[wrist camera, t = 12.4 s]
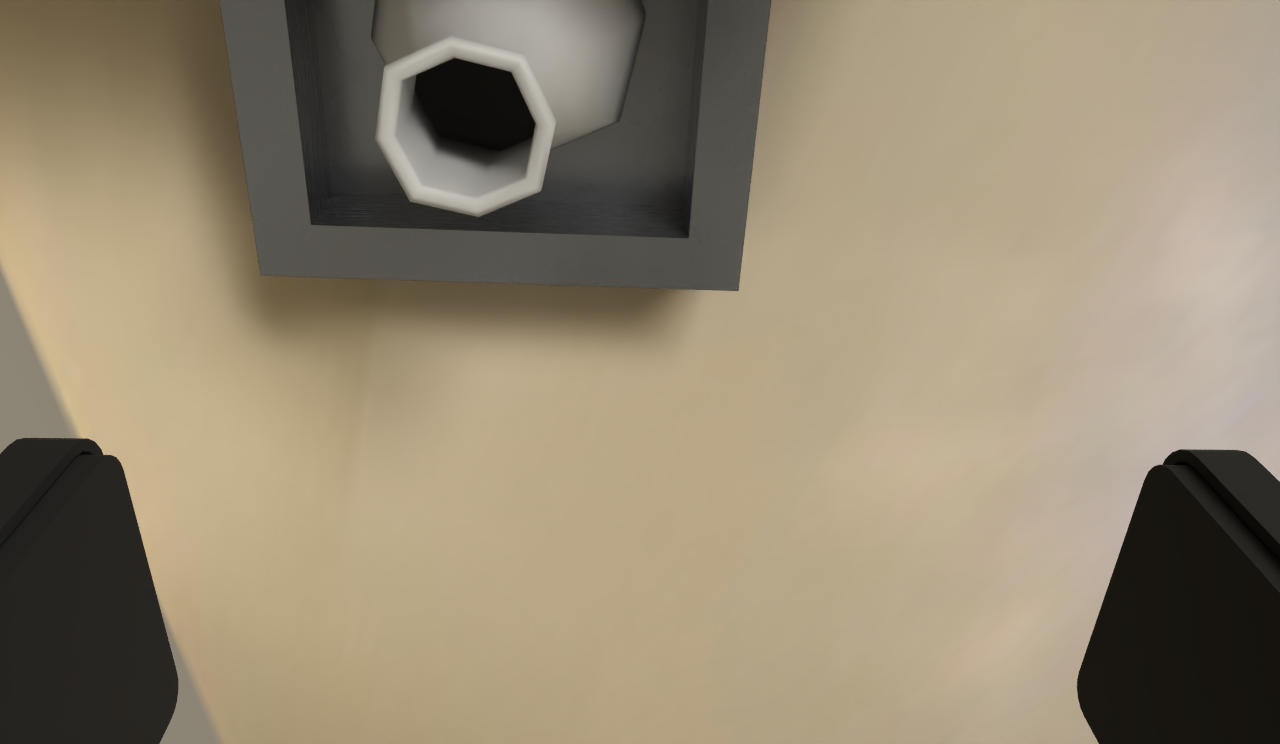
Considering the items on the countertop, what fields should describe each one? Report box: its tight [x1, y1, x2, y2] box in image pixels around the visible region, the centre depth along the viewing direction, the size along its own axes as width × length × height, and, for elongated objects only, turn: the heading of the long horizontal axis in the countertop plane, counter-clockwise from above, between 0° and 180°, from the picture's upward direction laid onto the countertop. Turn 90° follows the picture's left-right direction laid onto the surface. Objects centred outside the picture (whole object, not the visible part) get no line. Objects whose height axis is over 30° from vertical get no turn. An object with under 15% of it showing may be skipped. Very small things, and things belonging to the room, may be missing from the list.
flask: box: [371, 0, 646, 217], centre depth 22 cm, size 7×7×10 cm
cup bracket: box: [220, 0, 771, 291], centre depth 21 cm, size 15×22×12 cm
